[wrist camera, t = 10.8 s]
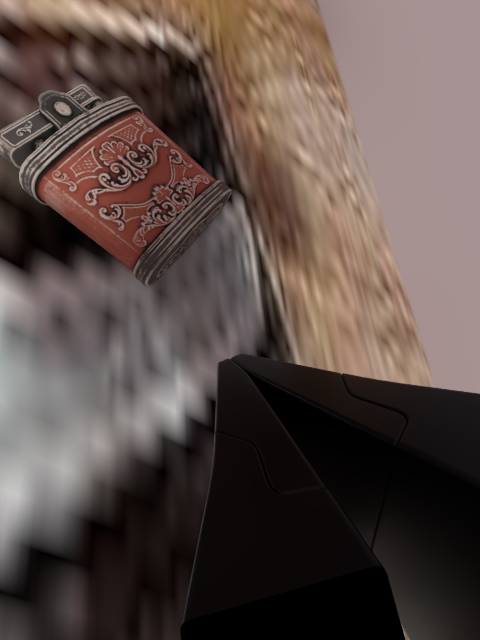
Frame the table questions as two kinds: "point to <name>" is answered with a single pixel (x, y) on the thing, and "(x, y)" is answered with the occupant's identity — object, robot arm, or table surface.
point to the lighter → (114, 177)
